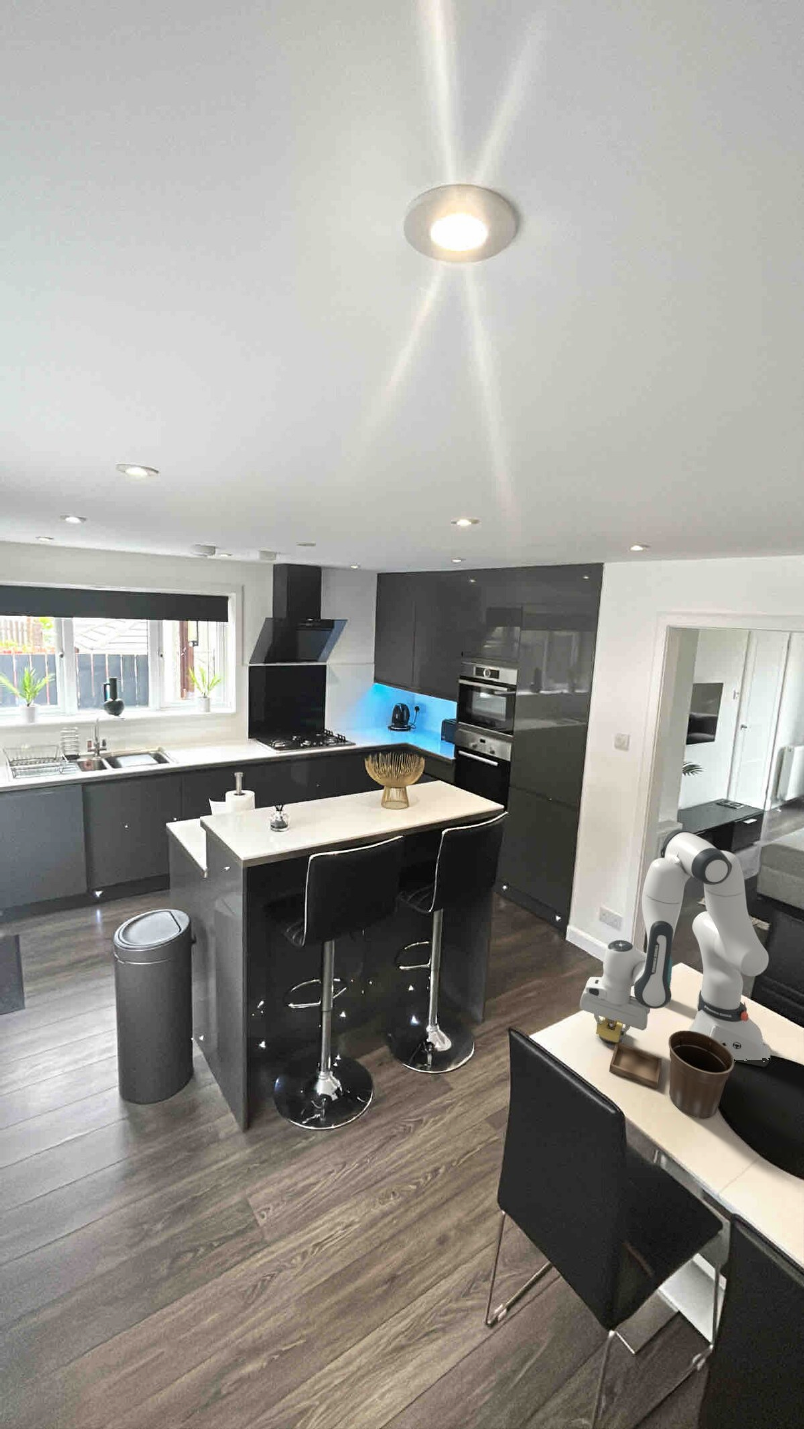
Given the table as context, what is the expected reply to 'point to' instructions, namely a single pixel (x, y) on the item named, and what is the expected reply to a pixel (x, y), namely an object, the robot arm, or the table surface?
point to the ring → (609, 1031)
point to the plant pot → (697, 1072)
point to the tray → (636, 1065)
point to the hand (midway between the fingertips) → (611, 1030)
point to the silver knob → (612, 1027)
